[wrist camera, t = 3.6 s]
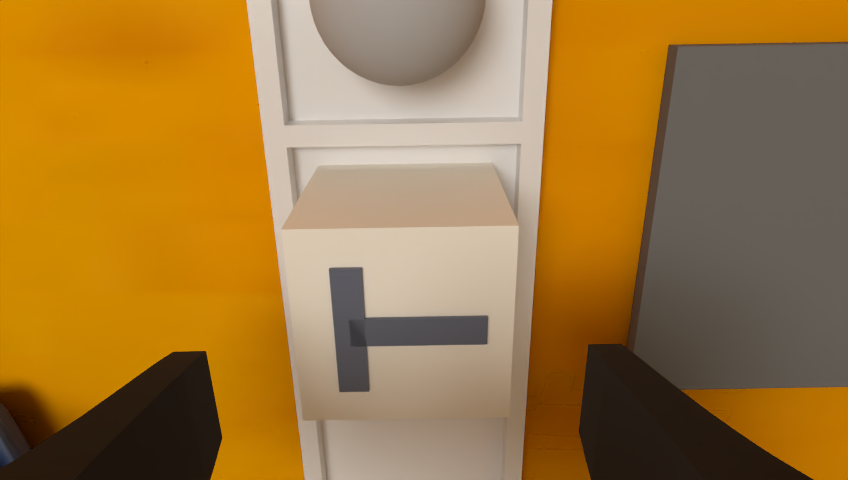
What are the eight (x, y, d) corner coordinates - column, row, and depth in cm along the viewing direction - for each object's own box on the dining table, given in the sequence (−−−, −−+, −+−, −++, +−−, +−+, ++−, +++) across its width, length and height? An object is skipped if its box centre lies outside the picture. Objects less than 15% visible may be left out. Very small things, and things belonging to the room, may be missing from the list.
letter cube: (487, 313, 19) (509, 419, 14) (331, 316, 19) (302, 423, 14) (491, 162, 17) (519, 227, 12) (318, 165, 17) (279, 230, 12)
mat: (940, 374, 20) (955, 384, 20) (622, 379, 20) (628, 390, 20) (1072, 38, 16) (1095, 39, 15) (669, 44, 16) (678, 46, 15)
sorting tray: (514, 499, 22) (518, 521, 21) (314, 502, 22) (310, 524, 21) (555, -181, 14) (564, -193, 13) (236, -176, 14) (223, -188, 13)
